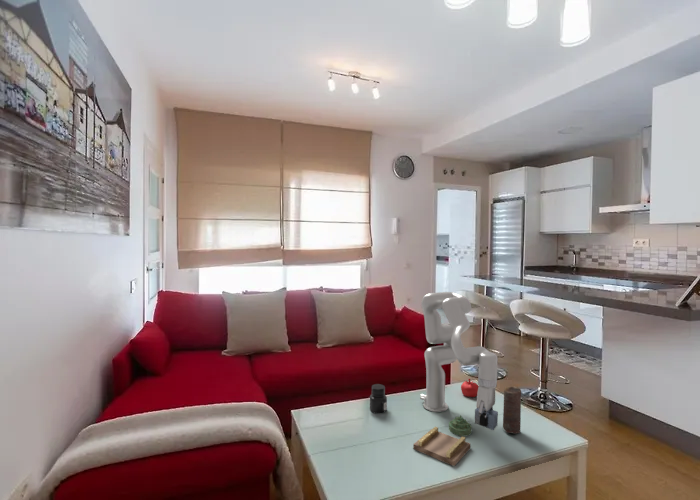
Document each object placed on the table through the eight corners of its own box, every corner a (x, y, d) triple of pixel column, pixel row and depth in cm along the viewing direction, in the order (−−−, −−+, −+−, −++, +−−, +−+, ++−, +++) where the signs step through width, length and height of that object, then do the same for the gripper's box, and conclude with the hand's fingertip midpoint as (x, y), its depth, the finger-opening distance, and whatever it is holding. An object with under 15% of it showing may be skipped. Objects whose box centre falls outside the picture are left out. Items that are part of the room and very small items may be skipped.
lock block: (474, 423, 157) (474, 409, 157) (478, 418, 161) (479, 405, 160) (493, 430, 152) (493, 416, 152) (497, 425, 156) (497, 411, 155)
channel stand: (413, 448, 152) (413, 439, 152) (431, 433, 164) (431, 424, 164) (454, 466, 140) (454, 456, 140) (470, 448, 152) (470, 438, 152)
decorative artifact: (471, 427, 170) (449, 423, 173) (471, 412, 170) (449, 408, 173) (471, 438, 161) (448, 434, 164) (471, 422, 160) (448, 418, 164)
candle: (522, 437, 161) (523, 392, 160) (504, 435, 162) (505, 391, 162) (518, 428, 168) (518, 385, 168) (501, 426, 170) (501, 384, 169)
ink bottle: (389, 413, 183) (389, 389, 183) (372, 414, 181) (372, 391, 181) (383, 404, 193) (383, 382, 192) (367, 406, 191) (367, 383, 190)
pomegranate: (477, 400, 198) (477, 384, 198) (458, 396, 203) (459, 380, 203) (481, 393, 207) (481, 377, 206) (463, 389, 212) (463, 374, 211)
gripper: (485, 373, 164) (484, 412, 165) (470, 385, 151) (469, 427, 152) (503, 377, 159) (501, 418, 160) (489, 390, 146) (487, 434, 147)
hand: (485, 422), depth 156 cm, fingers closed on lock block, 5 cm apart
